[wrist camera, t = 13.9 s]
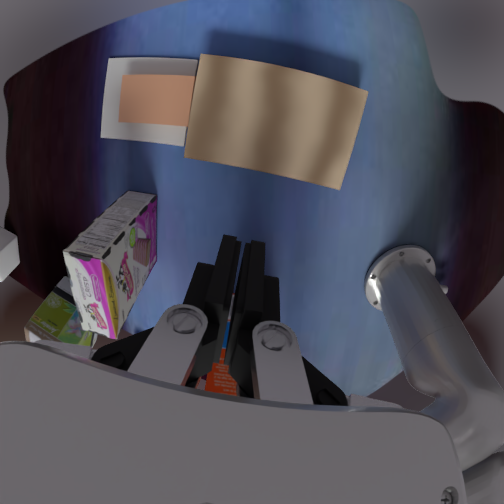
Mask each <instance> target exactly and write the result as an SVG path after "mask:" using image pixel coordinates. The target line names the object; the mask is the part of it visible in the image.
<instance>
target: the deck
mask: <svg viewBox="0 0 504 504" xmlns="http://www.w3.org/2000/svg"><path fill="white" fill-rule="evenodd" d="M367 95H368V91H365V90H363V89H360V88H357V87H354V86H351V85H348V84H345V83H342V82H339V81H336V80H333V79H329V78H326V77H322V76H319V75H315V74H312V73H308V72H304V71H300V70H296V69H292V68H287V67H283V66H278V65H274V64H269V63H263V62H258V61H252V60H246V59H240V58H233V57H226V56H217V55H208V54H201V56H200V61H199V66H198V71H197V76H196V82H195V87H194V93H193V99H192V105H191V111H190V117H189V124H188V131H187V138H186V145H185V153H184V158H190V159H197V160H203V161H209V162H215V163H220V164H226V165H231V166H236V167H242V168H247V169H252V170H257V171H262V172H266V173H271V174H276V175H280V176H285V177H289V178H293V179H298V180H302V181H306V182H310V183H314V184H318V185H322V186H326V187H330V188H334V189H337V190H340V188H341V185H342V182H343V178H344V175H345V172H346V169H347V166H348V162H349V159H350V156H351V153H352V149H353V146H354V142H355V139H356V136H357V132H358V129H359V125H360V121H361V118H362V114H363V110H364V107H365V103H366V99H367Z"/></svg>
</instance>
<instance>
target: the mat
mask: <svg viewBox="0 0 504 504" xmlns="http://www.w3.org/2000/svg"><path fill="white" fill-rule="evenodd" d="M197 65H198V60H192V59H178V58H149V57H135V58H109V61H108V68H107V75H106V82H105V91H104V100H103V111H102V124H101V138H112V139H124V140H134V141H144V142H153V143H161V144H169V145H177V146H184V145H185V138H186V130H187V127H185V126H175V125H162V124H148V123H127V122H118V120H119V106H120V94H121V84H122V75H145V74H149V75H184V76H196V71H197Z"/></svg>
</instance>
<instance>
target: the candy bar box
mask: <svg viewBox="0 0 504 504" xmlns="http://www.w3.org/2000/svg"><path fill="white" fill-rule="evenodd" d="M156 214H157V195H154V194H147V193H140V192H134V191H126V192H125V193H124V194H123V195H122V196H121V197H120V198H118V199H117V200H116V201H115V202H114V203H113V204H112V205H111V206H109V207H108V208H107V209H106V210H105V211H104V212H103V213H102V214H101V215H99V216H98V217H97V218H96V219H95V220H94V221H93V222H92V223H91V224H90V225H89V226H88V227H87V228H86V229H85V230H84V231H82V233H80V234H79V235H78V236H77V237H76V238H75V239H74V240H73V241H72V242H71V243H70V244H69V245H68V246H67V247H66V248H65V249H64V250H63V254H64V259H65V264H66V269H67V273H68V277H69V282H70V286H71V290H72V294H73V298H74V301H75V305H76V308H77V312H78V315H79V319H80V322H81V325H82V328H83V330H86V331H89V332H93V333H96V334H99V335H104V336H105V337H107V338H113V339H117V337H118V335H119V333H120V331H121V329H122V327H123V325H124V323H125V321H126V319H127V316H128V314H129V312H130V311H131V309H132V306H133V305H134V303H135V301H136V299H137V296H138V294H139V293H140V291H141V289H142V287H143V285H144V283H145V281H146V279H147V278H148V276H149V274H150V272H151V270H152V268H153V267H154V265H155V263H156V261H157V254H156Z"/></svg>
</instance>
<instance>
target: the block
mask: <svg viewBox="0 0 504 504" xmlns="http://www.w3.org/2000/svg"><path fill="white" fill-rule="evenodd" d="M195 82H196V76H184V75H149V74H145V75H122V84H121V94H120V106H119V120H118V122H127V123H148V124H162V125H175V126H185V127H188V124H189V117H190V111H191V105H192V99H193V93H194V87H195Z"/></svg>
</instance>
